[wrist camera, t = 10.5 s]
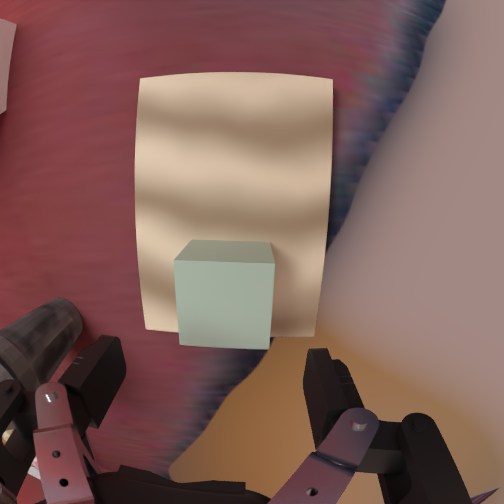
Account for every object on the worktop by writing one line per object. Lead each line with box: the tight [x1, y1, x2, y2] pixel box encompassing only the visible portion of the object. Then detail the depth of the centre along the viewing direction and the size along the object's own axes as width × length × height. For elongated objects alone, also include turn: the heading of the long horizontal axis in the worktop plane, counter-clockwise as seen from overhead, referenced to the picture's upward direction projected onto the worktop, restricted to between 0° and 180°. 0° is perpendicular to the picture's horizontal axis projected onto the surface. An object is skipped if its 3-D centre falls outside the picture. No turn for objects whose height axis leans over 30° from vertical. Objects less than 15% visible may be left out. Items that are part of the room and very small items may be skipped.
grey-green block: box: [174, 239, 275, 349], centre depth 19 cm, size 6×6×5 cm
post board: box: [135, 72, 333, 337], centre depth 19 cm, size 20×14×6 cm
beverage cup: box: [0, 298, 83, 431], centre depth 15 cm, size 7×7×20 cm
